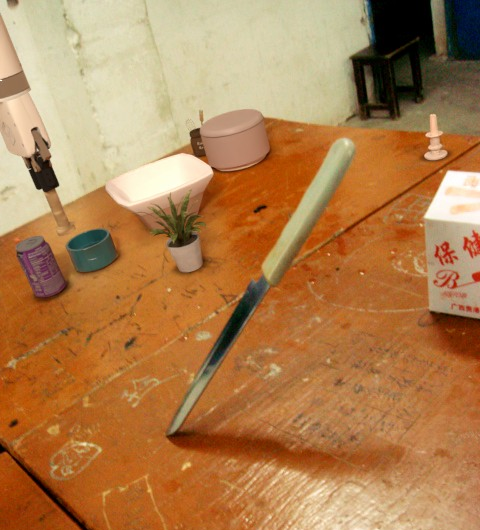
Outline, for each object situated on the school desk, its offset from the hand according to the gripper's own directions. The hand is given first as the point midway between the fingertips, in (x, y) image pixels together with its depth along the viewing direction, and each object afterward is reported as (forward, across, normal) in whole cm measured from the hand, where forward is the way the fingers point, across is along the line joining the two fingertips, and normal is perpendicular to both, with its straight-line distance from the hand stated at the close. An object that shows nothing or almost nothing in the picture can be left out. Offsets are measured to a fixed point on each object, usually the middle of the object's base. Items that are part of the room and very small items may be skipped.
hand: (48, 187), depth 118 cm
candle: (+25, +25, +82) cm, 89 cm away
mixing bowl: (+25, -15, +9) cm, 30 cm away
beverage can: (+25, -13, -4) cm, 29 cm away
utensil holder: (+25, -46, +66) cm, 84 cm away
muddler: (+9, 0, 0) cm, 9 cm away
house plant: (+25, +9, +17) cm, 32 cm away
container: (+25, -28, +65) cm, 75 cm away
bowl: (+25, -17, +32) cm, 44 cm away
